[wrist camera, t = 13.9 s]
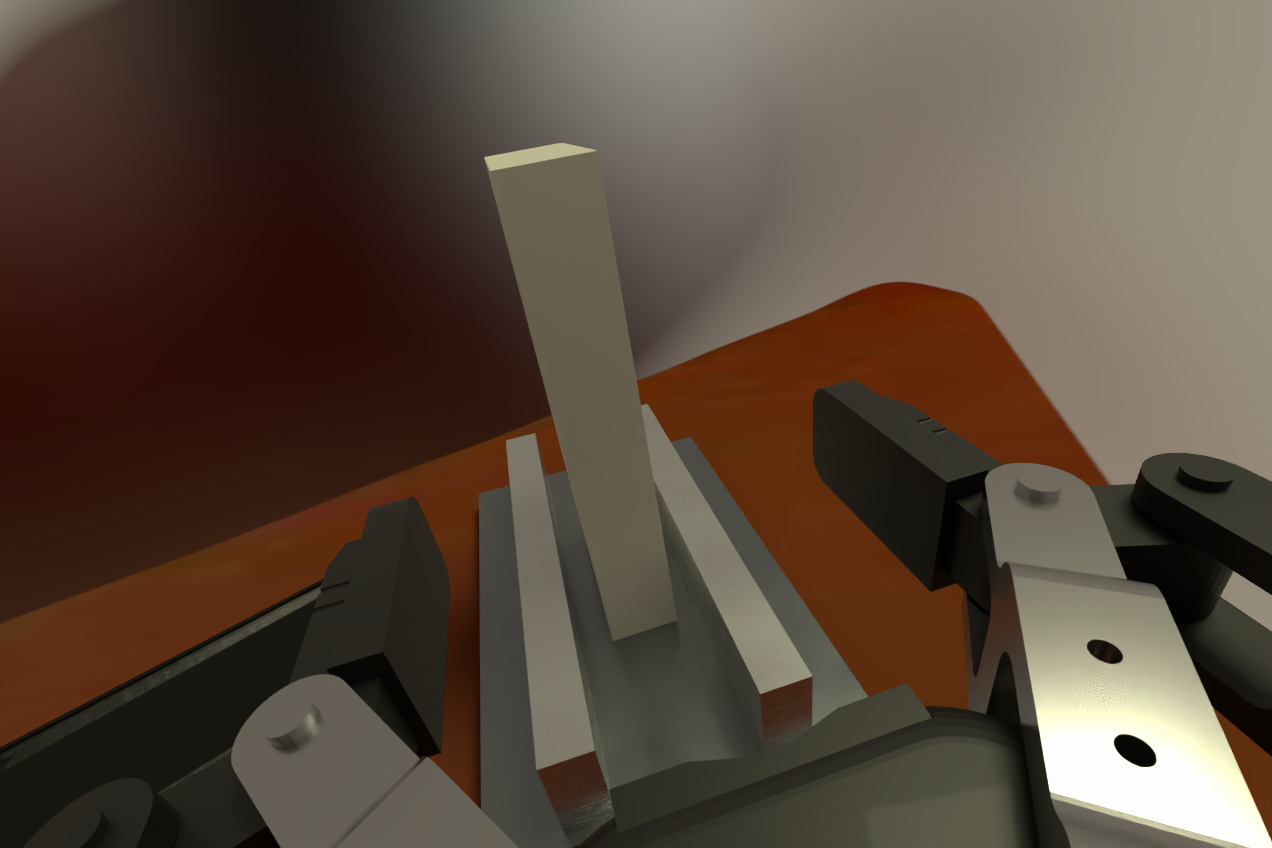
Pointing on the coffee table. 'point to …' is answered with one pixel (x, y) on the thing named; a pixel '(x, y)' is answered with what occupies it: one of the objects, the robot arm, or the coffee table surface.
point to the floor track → (632, 649)
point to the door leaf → (587, 370)
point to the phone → (154, 720)
